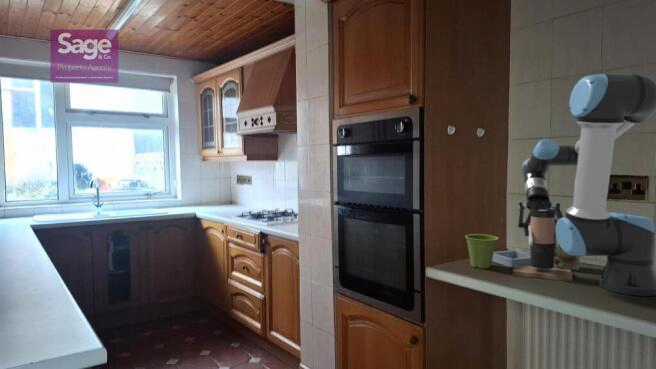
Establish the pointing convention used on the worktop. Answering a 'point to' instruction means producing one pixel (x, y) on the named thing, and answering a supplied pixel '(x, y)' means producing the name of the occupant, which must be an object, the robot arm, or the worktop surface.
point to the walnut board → (542, 273)
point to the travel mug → (543, 238)
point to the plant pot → (481, 249)
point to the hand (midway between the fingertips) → (544, 243)
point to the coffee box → (565, 260)
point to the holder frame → (507, 256)
